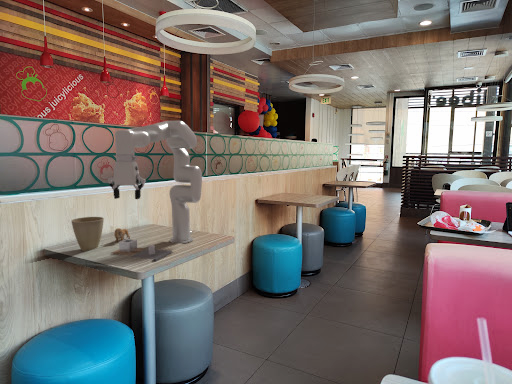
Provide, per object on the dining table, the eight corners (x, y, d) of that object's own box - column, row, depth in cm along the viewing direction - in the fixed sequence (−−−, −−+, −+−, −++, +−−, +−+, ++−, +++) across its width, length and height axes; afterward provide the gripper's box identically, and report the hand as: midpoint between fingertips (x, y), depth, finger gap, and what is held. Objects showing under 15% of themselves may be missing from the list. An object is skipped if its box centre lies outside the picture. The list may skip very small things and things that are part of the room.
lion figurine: (122, 245, 186) (122, 229, 185) (112, 245, 186) (112, 229, 185) (131, 238, 201) (130, 223, 200) (122, 238, 200) (121, 223, 199)
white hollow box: (127, 248, 176) (126, 239, 176) (137, 249, 175) (136, 239, 174) (119, 251, 171) (119, 242, 170) (129, 252, 169) (129, 242, 168)
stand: (126, 248, 180) (125, 240, 180) (146, 250, 177) (145, 241, 176) (110, 255, 169) (109, 246, 168) (131, 257, 165) (130, 248, 165)
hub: (147, 250, 176) (147, 240, 176) (172, 252, 172) (171, 243, 172) (130, 258, 163) (129, 248, 163) (156, 261, 159) (155, 250, 158)
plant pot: (110, 249, 179) (108, 218, 177) (79, 255, 168) (77, 223, 166) (98, 244, 189) (96, 215, 187) (68, 249, 178) (66, 219, 176)
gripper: (148, 159, 151) (149, 197, 153) (111, 158, 154) (113, 197, 156) (140, 159, 144) (141, 200, 146) (101, 159, 146) (104, 199, 148)
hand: (127, 198), depth 151 cm, fingers open, 9 cm apart
